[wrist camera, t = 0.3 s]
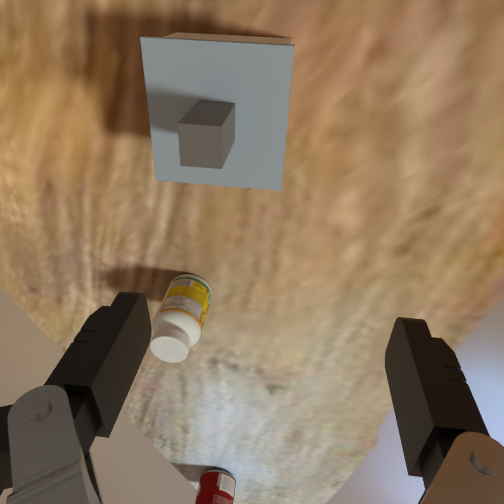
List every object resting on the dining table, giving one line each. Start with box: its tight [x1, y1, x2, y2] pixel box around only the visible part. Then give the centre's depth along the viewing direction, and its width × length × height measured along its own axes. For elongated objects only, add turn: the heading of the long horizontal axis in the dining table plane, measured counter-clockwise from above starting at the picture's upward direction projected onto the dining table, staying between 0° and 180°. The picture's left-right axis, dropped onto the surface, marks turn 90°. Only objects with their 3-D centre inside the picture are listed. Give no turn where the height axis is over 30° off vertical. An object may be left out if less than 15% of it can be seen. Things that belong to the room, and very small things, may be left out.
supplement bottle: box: [150, 274, 211, 363], centre depth 43 cm, size 5×5×10 cm
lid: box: [140, 36, 294, 191], centre depth 25 cm, size 10×10×6 cm
